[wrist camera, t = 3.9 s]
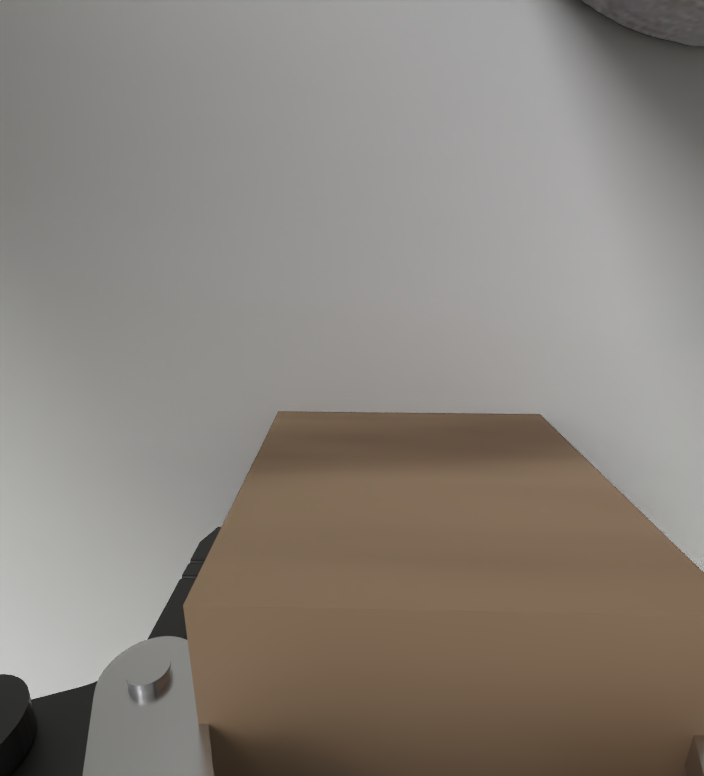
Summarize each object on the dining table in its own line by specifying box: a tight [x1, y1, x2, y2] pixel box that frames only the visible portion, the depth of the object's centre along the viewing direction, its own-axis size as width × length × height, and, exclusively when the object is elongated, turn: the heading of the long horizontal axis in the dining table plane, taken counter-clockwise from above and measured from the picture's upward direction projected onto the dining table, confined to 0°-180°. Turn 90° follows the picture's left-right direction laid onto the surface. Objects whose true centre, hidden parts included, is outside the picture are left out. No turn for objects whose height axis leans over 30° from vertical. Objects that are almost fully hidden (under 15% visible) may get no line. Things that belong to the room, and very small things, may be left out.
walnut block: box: [183, 412, 704, 776], centre depth 8 cm, size 6×6×6 cm
